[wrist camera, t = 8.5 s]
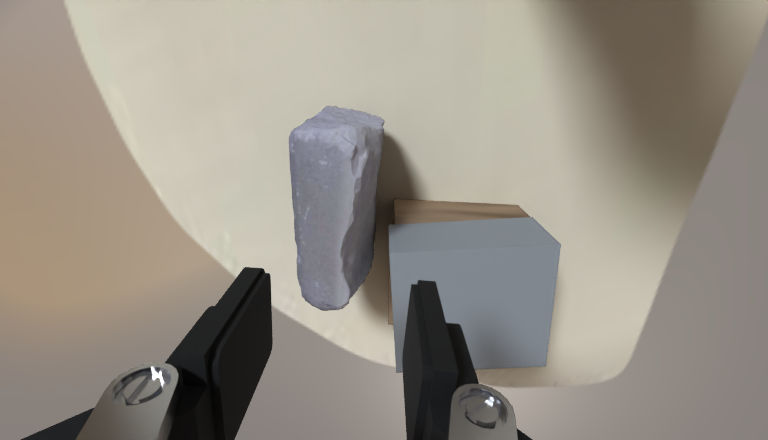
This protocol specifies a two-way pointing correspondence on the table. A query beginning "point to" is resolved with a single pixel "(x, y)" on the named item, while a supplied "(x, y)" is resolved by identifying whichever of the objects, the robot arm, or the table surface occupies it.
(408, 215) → the tower base
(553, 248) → the tower top
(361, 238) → the stone block
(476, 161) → the table surface
